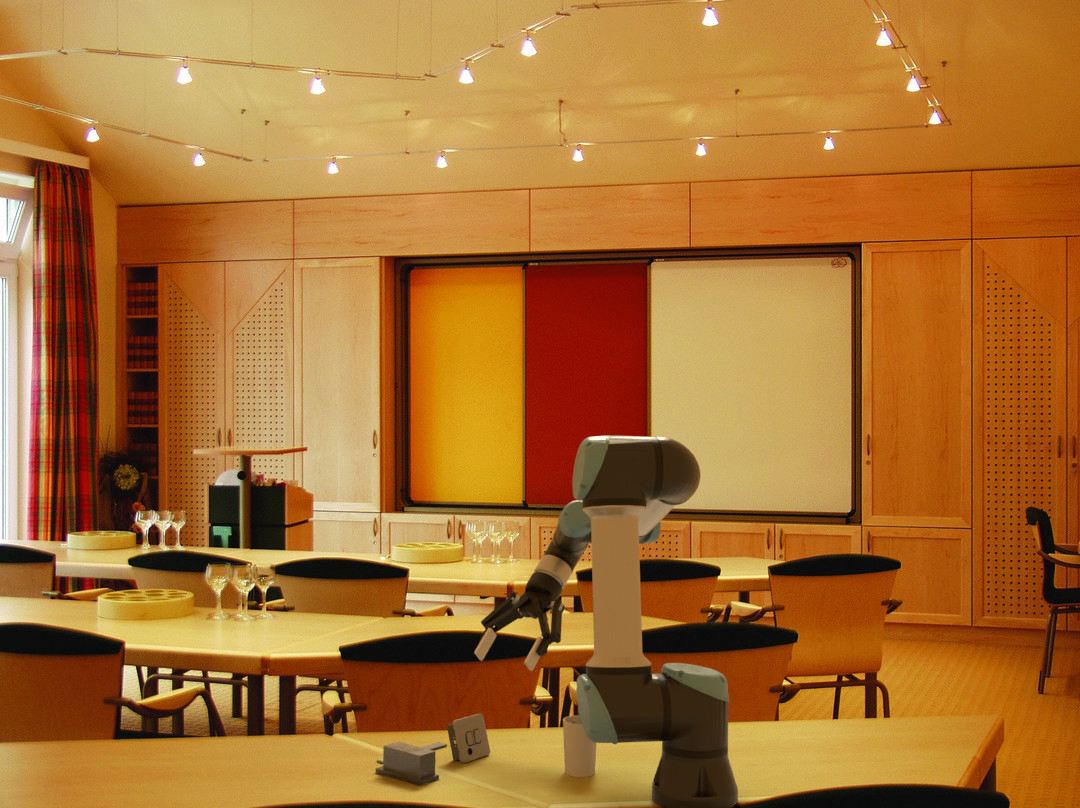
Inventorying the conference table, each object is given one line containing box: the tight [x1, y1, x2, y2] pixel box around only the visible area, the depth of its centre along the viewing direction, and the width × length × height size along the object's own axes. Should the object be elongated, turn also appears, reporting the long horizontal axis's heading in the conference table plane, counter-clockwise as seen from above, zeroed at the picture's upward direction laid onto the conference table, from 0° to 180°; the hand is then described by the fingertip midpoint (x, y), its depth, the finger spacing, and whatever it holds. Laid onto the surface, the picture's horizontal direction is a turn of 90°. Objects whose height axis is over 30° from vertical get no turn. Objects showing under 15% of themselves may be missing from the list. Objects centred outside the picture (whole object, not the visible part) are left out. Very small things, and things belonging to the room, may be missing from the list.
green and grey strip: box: [376, 741, 448, 764], centre depth 218 cm, size 2×17×1 cm, turn 140°
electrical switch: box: [446, 713, 491, 764], centre depth 217 cm, size 8×5×8 cm, turn 141°
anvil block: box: [375, 741, 440, 786], centre depth 204 cm, size 12×5×5 cm, turn 50°
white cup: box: [562, 715, 597, 778], centre depth 207 cm, size 7×7×10 cm
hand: (502, 661), depth 224 cm, fingers open, 13 cm apart
